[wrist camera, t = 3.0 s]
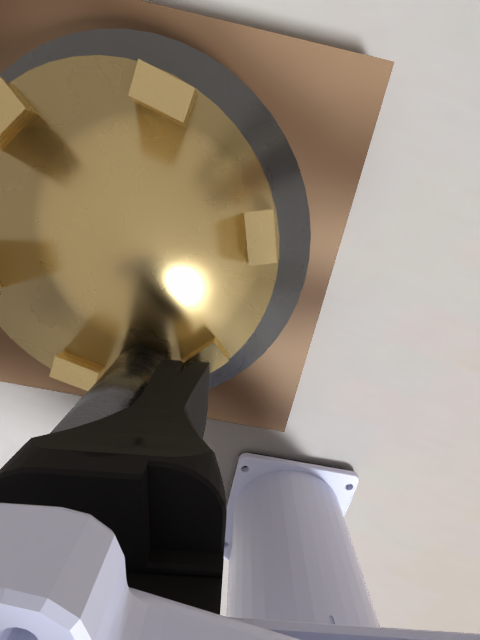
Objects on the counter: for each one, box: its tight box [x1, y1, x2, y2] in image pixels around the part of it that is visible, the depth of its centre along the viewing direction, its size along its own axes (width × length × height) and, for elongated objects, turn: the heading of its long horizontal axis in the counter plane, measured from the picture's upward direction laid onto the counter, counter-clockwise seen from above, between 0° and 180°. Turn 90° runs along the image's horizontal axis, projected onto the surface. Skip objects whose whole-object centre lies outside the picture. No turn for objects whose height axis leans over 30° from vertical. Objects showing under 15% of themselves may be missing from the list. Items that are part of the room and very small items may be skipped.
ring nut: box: [0, 55, 279, 434], centre depth 10 cm, size 12×12×6 cm
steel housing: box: [0, 29, 311, 389], centre depth 14 cm, size 15×15×2 cm
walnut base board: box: [0, 0, 394, 432], centre depth 15 cm, size 18×18×2 cm
